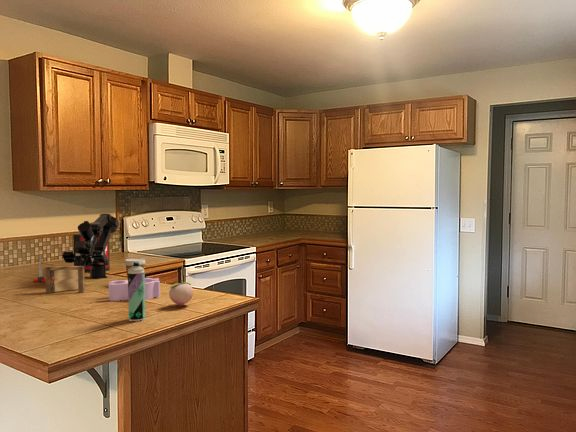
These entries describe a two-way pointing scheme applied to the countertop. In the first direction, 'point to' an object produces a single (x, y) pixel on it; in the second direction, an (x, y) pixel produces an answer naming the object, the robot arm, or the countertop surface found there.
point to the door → (65, 280)
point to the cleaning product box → (78, 238)
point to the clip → (120, 289)
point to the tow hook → (40, 278)
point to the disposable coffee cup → (130, 263)
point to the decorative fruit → (181, 293)
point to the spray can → (136, 292)
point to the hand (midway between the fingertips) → (79, 271)
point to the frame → (49, 269)
